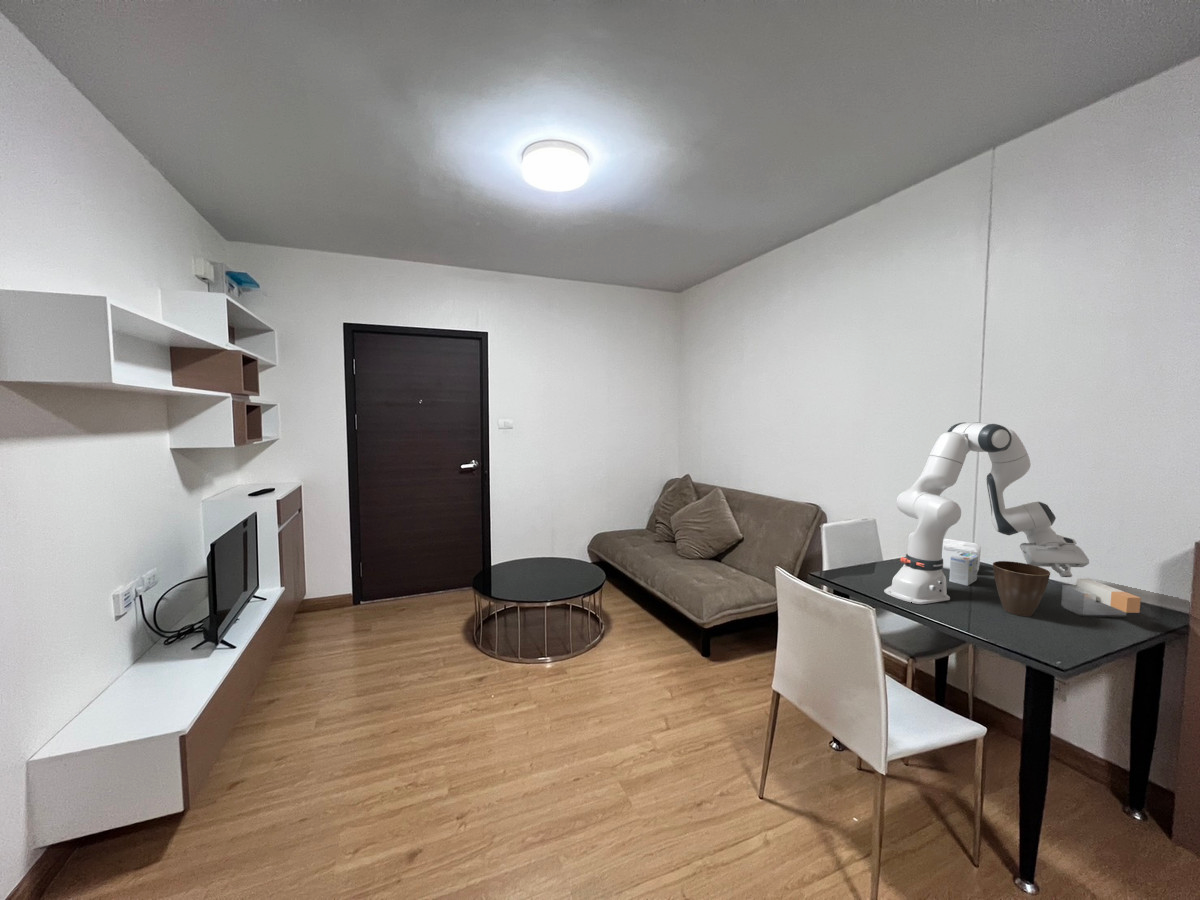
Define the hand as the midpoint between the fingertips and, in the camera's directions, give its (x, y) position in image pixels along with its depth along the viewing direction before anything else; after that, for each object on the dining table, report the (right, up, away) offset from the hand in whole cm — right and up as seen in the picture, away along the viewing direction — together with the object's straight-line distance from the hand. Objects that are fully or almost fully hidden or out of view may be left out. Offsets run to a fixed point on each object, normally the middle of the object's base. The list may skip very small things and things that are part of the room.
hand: (1067, 576), depth 173 cm
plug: (-1, -5, -14) cm, 15 cm away
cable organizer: (-13, -6, +36) cm, 39 cm away
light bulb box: (-22, -8, +21) cm, 32 cm away
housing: (0, -10, -9) cm, 13 cm away
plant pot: (-26, -10, -9) cm, 29 cm away
